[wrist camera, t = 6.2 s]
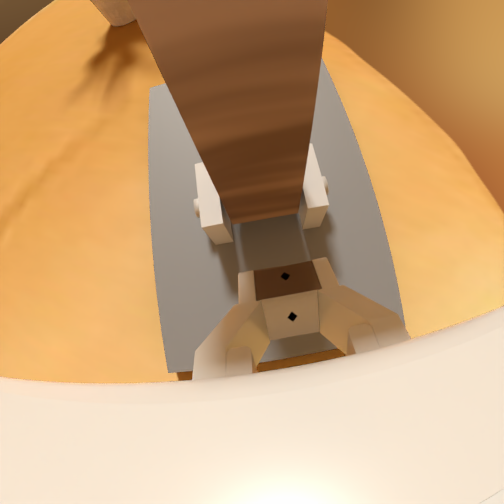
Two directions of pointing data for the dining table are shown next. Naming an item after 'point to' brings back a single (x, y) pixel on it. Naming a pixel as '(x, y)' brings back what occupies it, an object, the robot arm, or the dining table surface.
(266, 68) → the lever
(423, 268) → the dining table surface
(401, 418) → the robot arm
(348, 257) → the press base
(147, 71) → the dining table surface
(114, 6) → the house plant
